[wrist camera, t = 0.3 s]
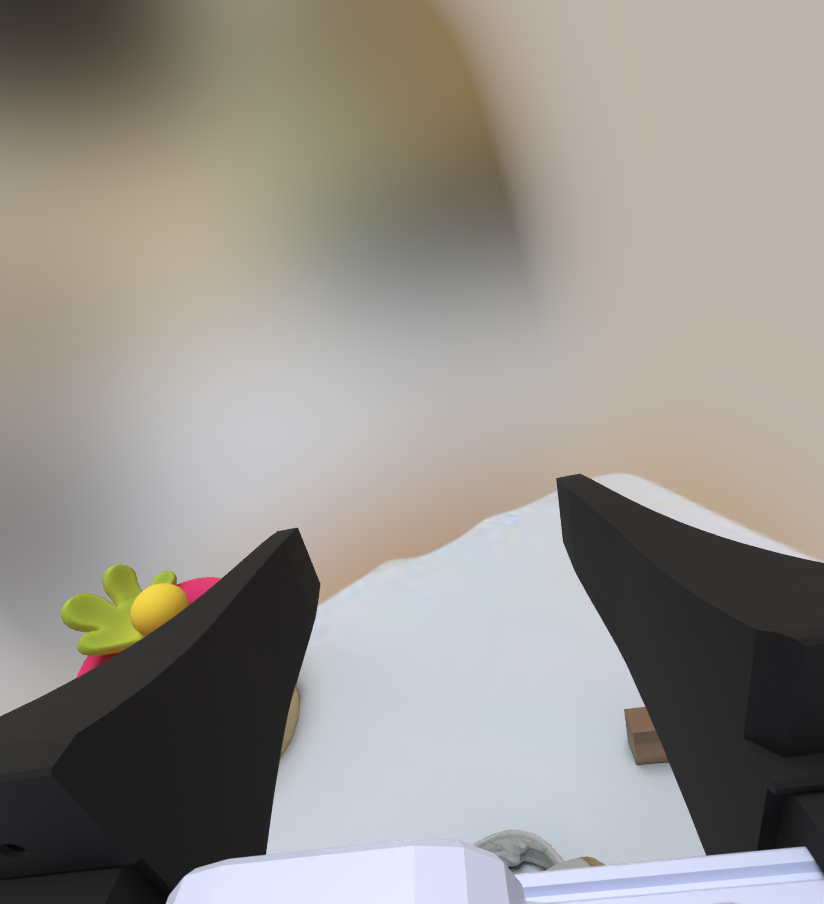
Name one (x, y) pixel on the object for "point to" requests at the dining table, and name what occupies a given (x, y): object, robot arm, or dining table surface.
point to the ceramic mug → (530, 851)
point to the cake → (137, 618)
